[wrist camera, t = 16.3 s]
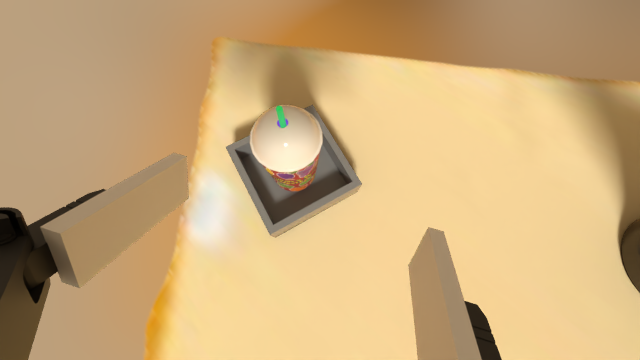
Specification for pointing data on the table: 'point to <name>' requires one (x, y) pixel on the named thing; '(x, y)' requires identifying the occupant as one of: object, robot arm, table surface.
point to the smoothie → (287, 145)
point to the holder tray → (296, 206)
